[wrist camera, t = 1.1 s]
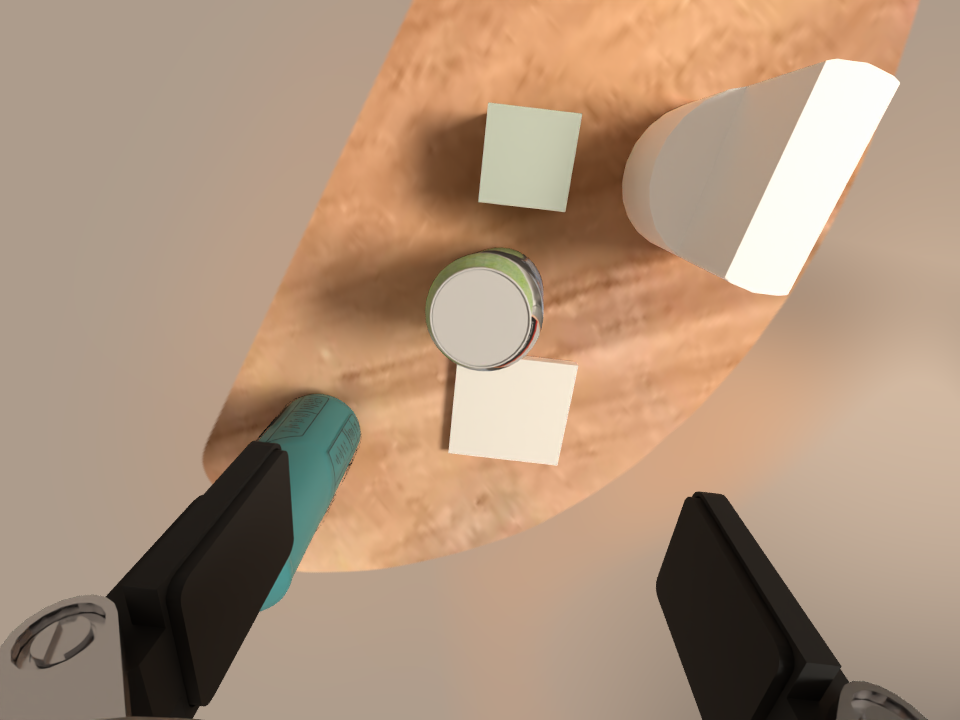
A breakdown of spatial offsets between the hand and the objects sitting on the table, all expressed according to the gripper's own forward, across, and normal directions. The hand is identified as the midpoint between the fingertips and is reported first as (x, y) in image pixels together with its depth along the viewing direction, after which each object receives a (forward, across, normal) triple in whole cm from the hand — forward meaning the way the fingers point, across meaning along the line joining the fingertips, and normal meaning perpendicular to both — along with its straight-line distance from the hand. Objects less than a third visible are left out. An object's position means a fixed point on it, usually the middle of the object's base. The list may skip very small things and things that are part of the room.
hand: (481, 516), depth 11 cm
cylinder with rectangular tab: (+24, -12, -8) cm, 28 cm away
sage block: (+24, -1, -8) cm, 25 cm away
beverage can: (+24, 0, 0) cm, 24 cm away
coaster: (+24, -2, +10) cm, 26 cm away
